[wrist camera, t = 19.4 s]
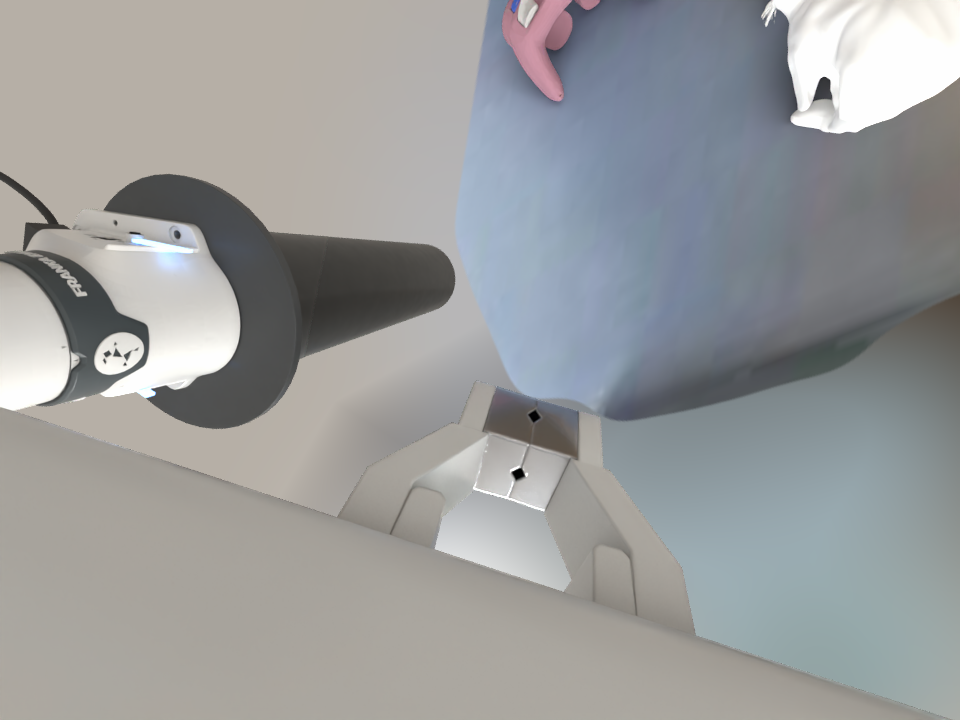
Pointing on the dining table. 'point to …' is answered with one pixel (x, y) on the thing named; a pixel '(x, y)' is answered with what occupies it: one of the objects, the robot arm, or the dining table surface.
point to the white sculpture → (868, 57)
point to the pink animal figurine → (540, 37)
